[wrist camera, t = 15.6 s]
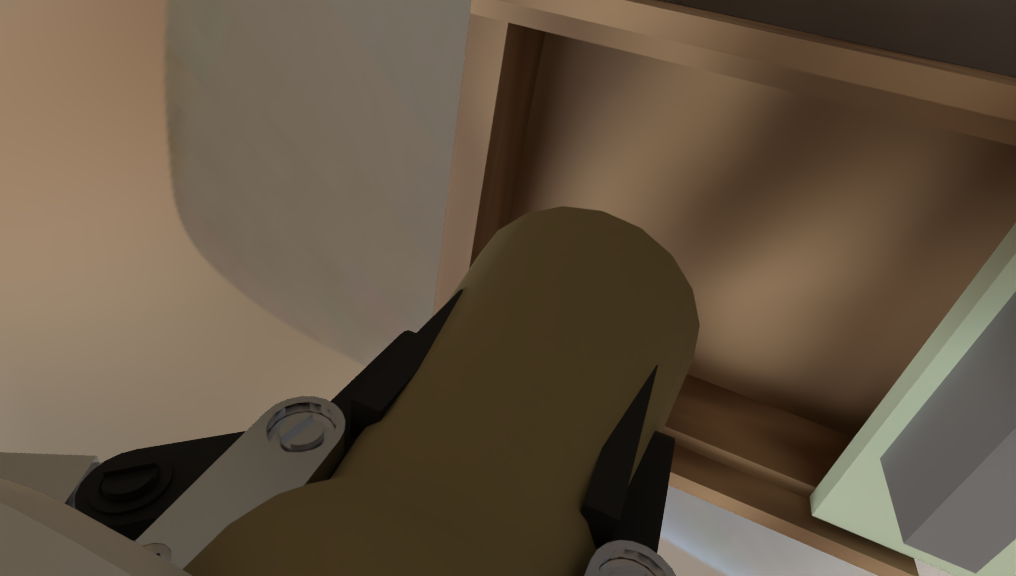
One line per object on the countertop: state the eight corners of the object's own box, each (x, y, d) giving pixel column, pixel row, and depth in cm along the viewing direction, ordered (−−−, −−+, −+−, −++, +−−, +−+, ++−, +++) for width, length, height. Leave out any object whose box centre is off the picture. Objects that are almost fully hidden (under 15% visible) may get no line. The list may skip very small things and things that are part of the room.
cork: (439, 331, 16) (23, 773, 7) (529, 157, 12) (-71, 577, 3) (613, 449, 15) (416, 1096, 6) (756, 301, 12) (785, 1259, 3)
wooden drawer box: (1156, 108, 14) (1360, 162, 9) (874, 459, 22) (908, 588, 17) (530, -28, 18) (452, -38, 14) (473, 304, 26) (410, 373, 21)
